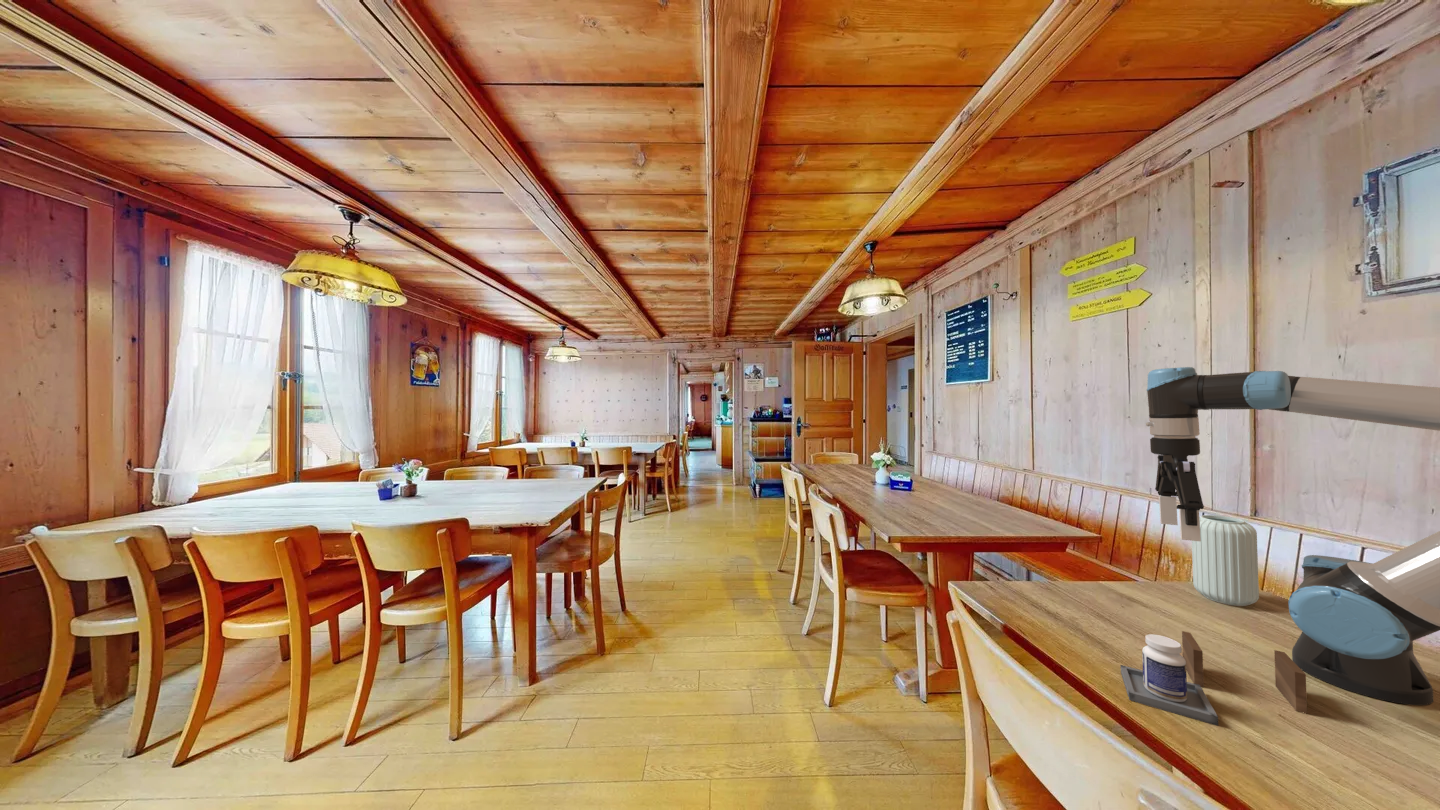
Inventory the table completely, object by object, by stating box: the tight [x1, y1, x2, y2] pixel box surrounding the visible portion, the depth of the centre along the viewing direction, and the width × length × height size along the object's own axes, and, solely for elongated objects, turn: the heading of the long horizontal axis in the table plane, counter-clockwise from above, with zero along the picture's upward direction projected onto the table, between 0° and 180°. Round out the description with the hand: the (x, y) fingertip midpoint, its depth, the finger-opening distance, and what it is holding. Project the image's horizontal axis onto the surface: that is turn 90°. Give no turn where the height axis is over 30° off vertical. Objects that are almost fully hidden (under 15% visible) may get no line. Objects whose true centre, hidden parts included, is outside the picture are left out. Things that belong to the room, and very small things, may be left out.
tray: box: [1120, 664, 1219, 727], centre depth 79 cm, size 11×10×2 cm
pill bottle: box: [1141, 633, 1188, 702], centre depth 79 cm, size 6×6×10 cm
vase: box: [1191, 514, 1260, 607], centre depth 115 cm, size 12×12×22 cm
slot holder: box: [1181, 630, 1308, 714], centre depth 81 cm, size 13×8×7 cm, turn 53°
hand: (1179, 531), depth 93 cm, fingers open, 13 cm apart
